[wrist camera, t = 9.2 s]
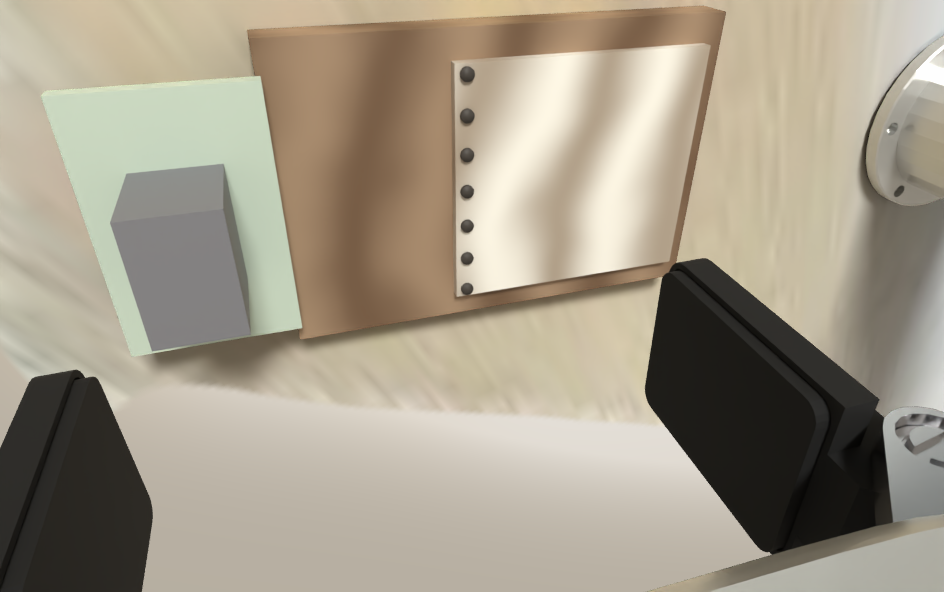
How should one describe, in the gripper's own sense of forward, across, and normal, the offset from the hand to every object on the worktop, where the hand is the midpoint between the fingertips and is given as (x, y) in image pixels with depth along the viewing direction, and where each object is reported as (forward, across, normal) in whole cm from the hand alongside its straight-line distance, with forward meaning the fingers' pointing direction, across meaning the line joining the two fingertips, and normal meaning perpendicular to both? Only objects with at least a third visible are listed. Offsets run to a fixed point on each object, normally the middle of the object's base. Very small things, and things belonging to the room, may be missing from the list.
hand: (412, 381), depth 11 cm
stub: (+22, +7, +6) cm, 24 cm away
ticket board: (+25, -9, +7) cm, 27 cm away
